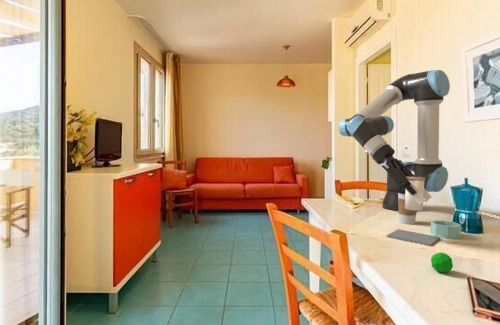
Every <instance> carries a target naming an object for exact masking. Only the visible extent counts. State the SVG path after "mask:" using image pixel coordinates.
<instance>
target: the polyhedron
mask: <svg viewBox="0 0 500 325" xmlns="http://www.w3.org/2000/svg"><path fill="white" fill-rule="evenodd" d="M430 263H431V264H430V265H431V267H432V268H433V269H434V270H435V271H436V272H438V273H440V274H441V273H442V274H445V273H447V272H450V271H451V270H452V269H453V268H454V263H453V259H452V257H451V256H450V255H449V254H447V253H445V252H437V253H434V254H432V256H431V258H430Z"/></svg>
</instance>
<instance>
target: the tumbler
mask: <svg viewBox="0 0 500 325" xmlns="http://www.w3.org/2000/svg"><path fill="white" fill-rule="evenodd" d="M406 178H407V180H408V181H409V182H410V183H411V184H413V185H414V186H415V187H416V188H417V189H418V190H419V191H420V193H421V194H422V195H423V196H424V180H425V177H419V176H406ZM411 184H410V185H411ZM405 209H408V210H416V211H420V212H421V211H423V209H424V202H422V203H421V204H419V203H418V202H417V201H416V200H415V199H414V198H413V197H412V196H411V195H410V194H409V192H408V191H407V190H405Z"/></svg>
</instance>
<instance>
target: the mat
mask: <svg viewBox="0 0 500 325" xmlns="http://www.w3.org/2000/svg"><path fill="white" fill-rule="evenodd" d="M386 238H391V239H394V238H395V240H401V241H404V242H409V241H410V242H409V243H413V242H415V244H418V243H420V245H423V244H424V245H423V246H428V247H432V246H433V245H434V244H435V243H437V242H439V240H441V238H440V237H437V236H434V235H432V234H424V233H421V232H415V231H411V230H404V229H400V228H399V229H396V230H394V231H392V232H390V233H388V234H386Z"/></svg>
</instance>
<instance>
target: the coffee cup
mask: <svg viewBox="0 0 500 325" xmlns="http://www.w3.org/2000/svg"><path fill="white" fill-rule="evenodd" d="M405 190H406V188H405V189H404V190H402V189H401V187H398V190H397V192H398V209H399V211H398V222H399V223H400V224H404V225H415V224H416V218H417V213H418V212H417V211H416V210H408V209H405Z"/></svg>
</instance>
